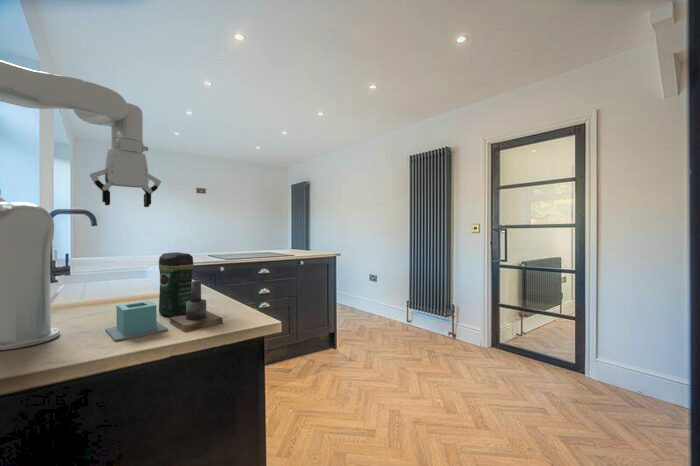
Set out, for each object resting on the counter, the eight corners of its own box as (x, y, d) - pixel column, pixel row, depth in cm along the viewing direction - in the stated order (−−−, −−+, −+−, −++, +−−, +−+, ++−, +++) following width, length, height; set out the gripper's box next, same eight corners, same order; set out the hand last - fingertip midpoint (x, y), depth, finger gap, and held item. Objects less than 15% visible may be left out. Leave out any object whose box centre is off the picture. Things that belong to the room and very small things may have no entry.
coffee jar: (198, 312, 98) (198, 252, 97) (172, 319, 91) (172, 254, 90) (179, 308, 102) (179, 250, 102) (154, 314, 96) (153, 252, 95)
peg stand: (183, 331, 80) (183, 286, 80) (170, 323, 87) (170, 281, 87) (222, 323, 88) (222, 281, 87) (207, 315, 94) (207, 277, 94)
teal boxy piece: (116, 328, 80) (116, 305, 80) (148, 322, 86) (148, 300, 85) (123, 335, 76) (123, 310, 76) (156, 328, 81) (156, 305, 81)
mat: (115, 341, 73) (115, 339, 73) (105, 330, 80) (105, 328, 80) (168, 330, 81) (168, 328, 81) (154, 321, 88) (154, 319, 88)
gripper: (156, 154, 102) (156, 207, 103) (87, 144, 90) (87, 205, 90) (164, 150, 97) (164, 207, 98) (92, 139, 85) (92, 203, 85)
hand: (127, 206), depth 94 cm, fingers open, 9 cm apart
